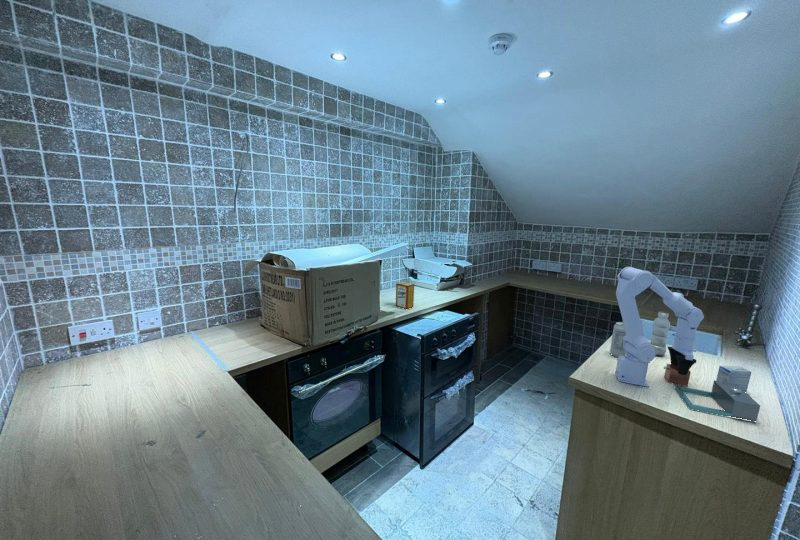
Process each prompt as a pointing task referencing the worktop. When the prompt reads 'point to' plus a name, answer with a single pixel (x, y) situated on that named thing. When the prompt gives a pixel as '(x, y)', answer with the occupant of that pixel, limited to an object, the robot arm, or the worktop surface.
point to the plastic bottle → (660, 333)
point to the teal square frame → (724, 400)
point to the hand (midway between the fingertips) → (678, 370)
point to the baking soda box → (404, 295)
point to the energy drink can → (618, 340)
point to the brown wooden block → (676, 375)
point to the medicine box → (734, 376)
